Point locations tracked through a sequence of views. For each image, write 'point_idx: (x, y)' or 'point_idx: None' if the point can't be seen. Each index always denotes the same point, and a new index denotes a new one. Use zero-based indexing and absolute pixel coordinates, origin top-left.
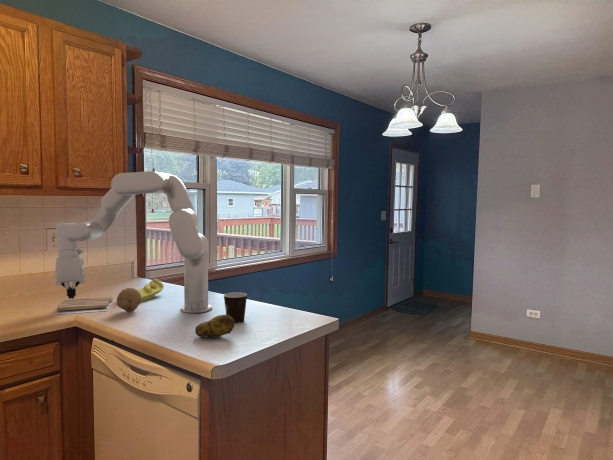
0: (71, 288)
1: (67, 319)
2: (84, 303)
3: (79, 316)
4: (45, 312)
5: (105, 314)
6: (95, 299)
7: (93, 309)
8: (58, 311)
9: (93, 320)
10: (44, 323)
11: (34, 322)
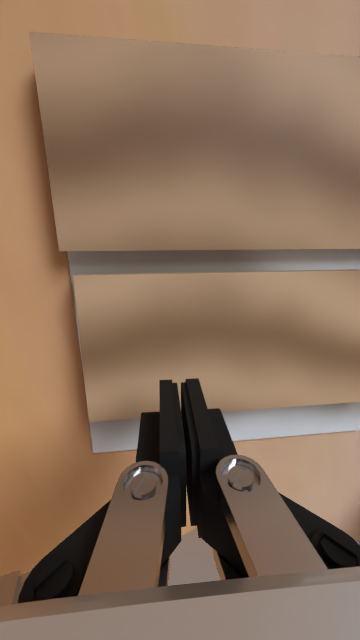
0: (199, 520)
1: (185, 530)
2: (248, 312)
3: None
4: (14, 384)
5: (343, 481)
6: (324, 161)
7: None
8: None
9: None
10: None
11: (44, 554)
